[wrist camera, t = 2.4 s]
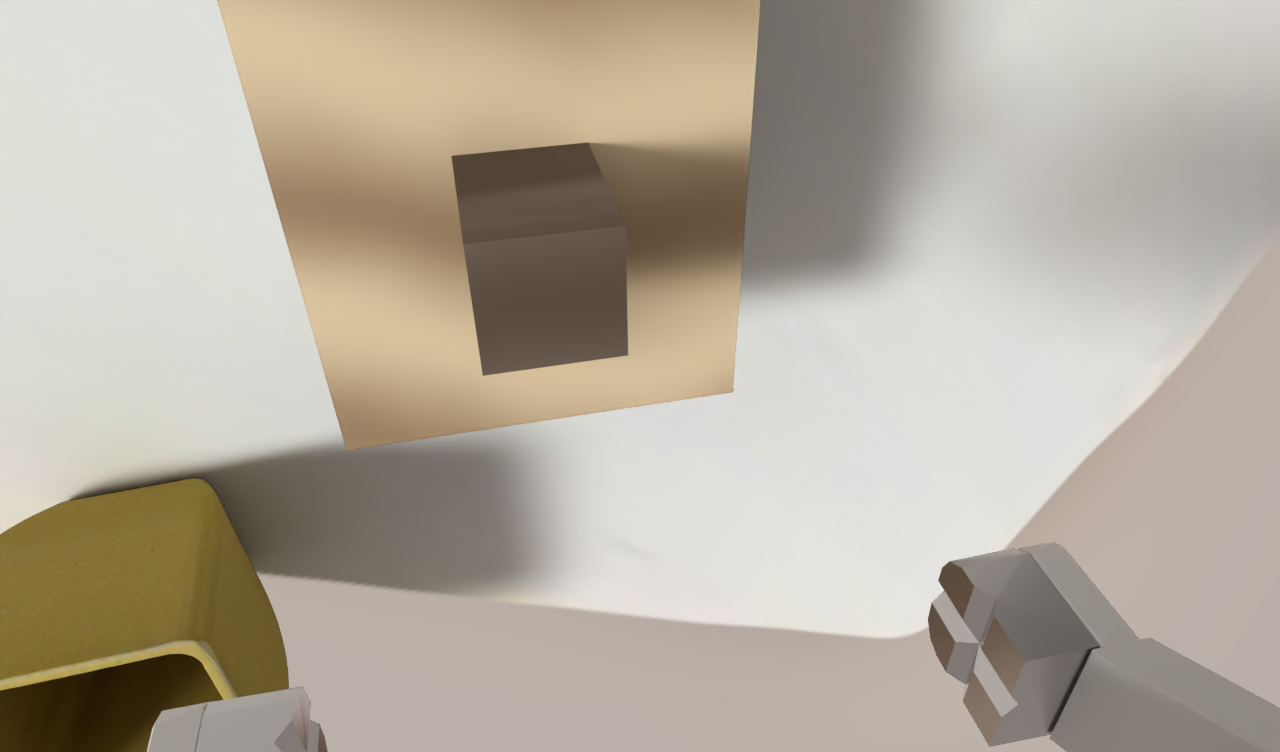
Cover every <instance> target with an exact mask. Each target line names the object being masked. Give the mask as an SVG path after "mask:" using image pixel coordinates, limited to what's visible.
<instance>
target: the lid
mask: <svg viewBox="0 0 1280 752" xmlns="http://www.w3.org/2000/svg"><path fill="white" fill-rule="evenodd" d="M217 2H218V5H219V9H220V12H221V16H222V19H223V23H224V26H225V30H226V33H227V36H228V40H229V43H230V47H231V50H232V54H233V57H234V61H235V64H236V68H237V71H238V75H239V78H240V82H241V85H242V89H243V92H244V95H245V99H246V102H247V106H248V109H249V113H250V116H251V120H252V123H253V127H254V130H255V134H256V137H257V141H258V144H259V148H260V151H261V155H262V158H263V161H264V165H265V168H266V172H267V175H268V179H269V182H270V186H271V189H272V193H273V196H274V200H275V203H276V207H277V210H278V214H279V217H280V220H281V224H282V227H283V231H284V234H285V238H286V241H287V245H288V248H289V252H290V255H291V259H292V262H293V266H294V269H295V273H296V276H297V280H298V283H299V286H300V290H301V293H302V297H303V300H304V304H305V307H306V311H307V314H308V318H309V321H310V325H311V328H312V332H313V335H314V339H315V342H316V345H317V349H318V352H319V356H320V359H321V363H322V366H323V370H324V373H325V377H326V380H327V384H328V387H329V391H330V394H331V398H332V401H333V405H334V408H335V411H336V415H337V418H338V422H339V425H340V429H341V432H342V436H343V439H344V443H345V446H346V450H353V449H359V448H366V447H372V446H379V445H386V444H392V443H399V442H406V441H412V440H419V439H426V438H432V437H439V436H445V435H452V434H459V433H465V432H472V431H479V430H485V429H492V428H498V427H505V426H512V425H518V424H525V423H532V422H538V421H545V420H552V419H558V418H565V417H571V416H578V415H585V414H591V413H598V412H605V411H611V410H618V409H624V408H631V407H638V406H644V405H651V404H658V403H664V402H671V401H678V400H684V399H691V398H697V397H704V396H711V395H717V394H724V393H731V392H733V382H734V368H735V354H736V340H737V326H738V311H739V297H740V283H741V269H742V255H743V241H744V227H745V213H746V199H747V185H748V171H749V157H750V143H751V128H752V114H753V100H754V86H755V72H756V58H757V44H758V30H759V16H760V2H761V0H217Z"/></svg>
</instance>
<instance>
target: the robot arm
mask: <svg viewBox="0 0 1280 752" xmlns="http://www.w3.org/2000/svg"><path fill="white" fill-rule="evenodd" d="M938 581H939V582H940V584H941V586H942V587H943V589H944V591H943V592H942V593H941V594H940V595H939V596H938V597H937V598H936V599H935V600H934V601H933V602H932V604H931V608H930V613H929V617H928V623H929V631H930V639H931V642H932V644H933V647H934V649H935V652H936V655H937V657H938V658H939V660H940V662H941V664H942V666H943V667H944V669H945V671H946V672H947V673H949V674H950V675H952V676H953V677H955V678H957V679H958V680H959V681H961V682H963V683H964V684H965V689H964V697H963V702H964V704H965V706H966V707H967V709H968V711H969V712H970V714H971V716H972V717H973V719H974V721H975V723H976V724H977V726H978V728H979V730H980V731H981V733H982V735H983V736H984V738H985V740H986V742H987V743H988V745H989V746H990V747H991V746H996V745H1001V744H1005V743H1011V742H1016V741H1021V740H1026V739H1031V738H1036V737H1040V736H1046V735H1051V736H1050V739H1051V740H1052V741H1054V742H1055V743H1056V744H1058V745H1059V746H1060V747H1061V748H1063V749H1064V750H1065V751H1067V752H1280V708H1279V707H1277V706H1275V705H1274V704H1272V703H1270V702H1268V701H1266V700H1264V699H1262V698H1261V697H1259V696H1257V695H1255V694H1253V693H1251V692H1249V691H1247V690H1246V689H1244V688H1242V687H1240V686H1238V685H1236V684H1235V683H1233V682H1231V681H1229V680H1227V679H1225V678H1224V677H1222V676H1220V675H1218V674H1216V673H1214V672H1213V671H1211V670H1209V669H1207V668H1205V667H1203V666H1201V665H1200V664H1198V663H1196V662H1194V661H1192V660H1190V659H1189V658H1187V657H1185V656H1183V655H1181V654H1179V653H1177V652H1176V651H1174V650H1172V649H1170V648H1168V647H1166V646H1165V645H1162V644H1161V643H1159V642H1157V641H1155V640H1153V639H1151V638H1144V639H1139V638H1138V637H1137V636H1136V634H1135V633H1134V632H1133V631H1132V629H1131V628H1130V627H1129V626H1128V625H1127V624H1126V622H1125V621H1124V620H1123V619H1122V617H1121V616H1120V615H1119V614H1118V612H1117V611H1116V610H1115V609H1114V608H1113V606H1112V605H1111V604H1110V603H1109V601H1108V600H1107V599H1106V598H1105V597H1104V595H1103V594H1102V593H1101V592H1100V590H1098V588H1097V587H1096V586H1095V584H1094V583H1093V582H1092V581H1091V579H1090V578H1089V577H1088V576H1087V575H1086V573H1085V572H1084V571H1083V570H1082V569H1081V567H1080V566H1079V565H1078V564H1077V562H1075V560H1074V559H1073V558H1072V556H1071V555H1070V554H1069V553H1068V552H1067V550H1066V549H1065V548H1064V547H1062V546H1060V545H1059V544H1057V543H1056V542H1048V543H1042V544H1038V545H1033V546H1028V547H1024V548H1019V549H1015V548H1012V549H1008V550H1002V551H998V552H993V553H988V554H983V555H978V556H974V557H969V558H964V559H959V560H954V561H950V562H948V563H947V564H946V565H945V566H944V567H943V568H942V570H941V574H940V577H939V580H938ZM310 705H311V702H310V700H309V698H308V695H307V693H306V691H305V689H304V687H303V686H301V687H296V688H289V689H283V690H277V691H272V692H266V693H260V694H254V695H249V696H243V697H237V698H231V699H225V700H220V701H214V702H206V703H201V704H196V705H190V706H185V707H180V708H174V709H169V710H164V711H162V712H161V713H160V715H159V717H158V719H157V720H156V722H155V724H154V726H153V728H152V732H151V736H150V740H149V744H148V748H147V752H328V751H327V746H326V742H325V737H324V734H323V732H322V729H321V726H320V724H319V723H316V722H314V721H312V720H310V719H309V718H310V717H309V716H310Z"/></svg>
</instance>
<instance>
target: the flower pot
mask: <svg viewBox="0 0 1280 752" xmlns="http://www.w3.org/2000/svg"><path fill="white" fill-rule="evenodd" d="M283 689H289V681H288V667H287V660H286V654H285V648H284V643H283V639H282V635H281V632H280V628H279V625H278V622H277V619H276V616H275V613H274V611H273V608H272V606H271V604H270V601H269V598H268V596H267V594H266V592H265V590H264V588H263V586H262V583H261V581H260V579H259V577H258V575H257V574H256V572H255V570H254V568H253V566H252V564H251V562H250V560H249V558H248V556H247V554H246V552H245V550H244V548H243V546H242V544H241V542H240V540H239V538H238V536H237V534H236V533H235V531H234V529H233V527H232V525H231V523H230V521H229V519H228V517H227V514H226V512H225V510H224V508H223V506H222V504H221V502H220V500H219V498H218V496H217V494H216V493H215V491H214V490H213V488H212V487H211V486H210V485H209V483H207V482H206V481H205V480H201V479H194V478H193V479H185V480H180V481H175V482H169V483H164V484H159V485H153V486H148V487H143V488H138V489H132V490H127V491H122V492H117V493H111V494H105V495H99V496H94V497H88V498H82V499H76V500H70V501H66V502H62V503H59V504H57V505H55V506H53V507H50V508H48V509H46V510H44V511H42V512H40V513H37V514H35V515H33V516H31V517H29V518H28V519H26V520H24V521H22V522H20V523H18V524H17V525H15V526H13V527H11V528H10V529H8V530H6V531H5V532H3V533H2V534H0V752H147V748H148V744H149V740H150V736H151V732H152V728H153V726H154V724H155V722H156V720H157V719H158V717H159V715H160V713H161V712H162V711H164V710H169V709H174V708H180V707H185V706H190V705H196V704H201V703H206V702H214V701H220V700H225V699H231V698H237V697H243V696H249V695H254V694H260V693H266V692H272V691H277V690H283Z"/></svg>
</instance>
